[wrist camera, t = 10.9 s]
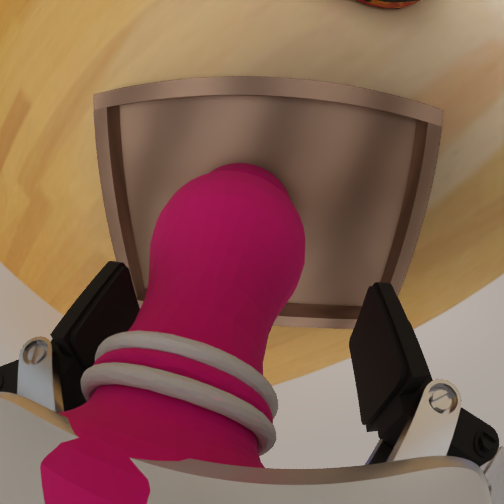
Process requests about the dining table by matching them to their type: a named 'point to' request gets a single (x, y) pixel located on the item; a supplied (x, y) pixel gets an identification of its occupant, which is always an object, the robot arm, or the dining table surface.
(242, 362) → the pepper mill
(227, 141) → the walnut tray
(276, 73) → the dining table surface
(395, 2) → the canned food
